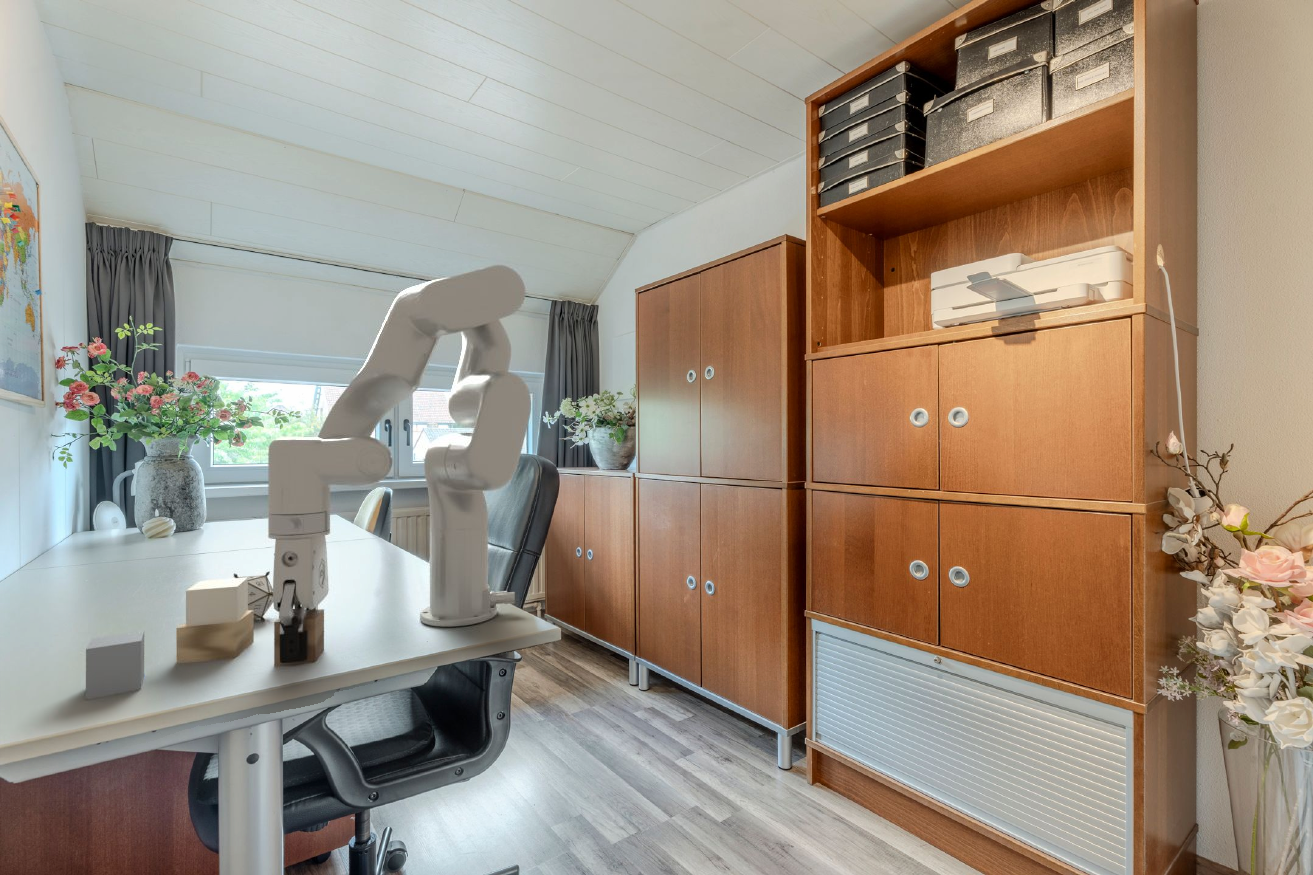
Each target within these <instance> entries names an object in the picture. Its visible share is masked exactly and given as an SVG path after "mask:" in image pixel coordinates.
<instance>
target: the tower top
mask: <svg viewBox="0 0 1313 875" xmlns="http://www.w3.org/2000/svg"><path fill="white" fill-rule="evenodd" d="M247 611H248V578H235V577H234V578H223V579H222V578H221V579H210V580H209V579H207V580H200V581H198V582H196V583H195V584H193V585H192V586H191V587H189V588H188V589H186V590H185V622H186V627H189V626H199V625H209V624H220V623H230V622H238V621H239V620H240V618H241V617H242V616H243V615H244V614H245V613H246V612H247Z"/></svg>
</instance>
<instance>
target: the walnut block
mask: <svg viewBox="0 0 1313 875" xmlns="http://www.w3.org/2000/svg"><path fill="white" fill-rule="evenodd" d="M293 616H297V618H298V621H299V614H294V615H293ZM273 629H274V630H273V634H274V635H273V649H274V650H273V653H274V654H273V656H274V657H273V658H274V659H273V661H274V662H273V663H274V664H273V667H276V666H277V667H278V666H287V665H299V664H307V663H308V664H310V663H316V662H317V660H319V658H320V656H321V655H322V654H323V652H324V651H325V609H323V608H321V609H319V608H318V610H306V619H305V630H304V631H307V659H306V660H305V661H301V662H290V663H281V662H280V619H279V617H278V618H277V619H275V621H274V622H273Z"/></svg>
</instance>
